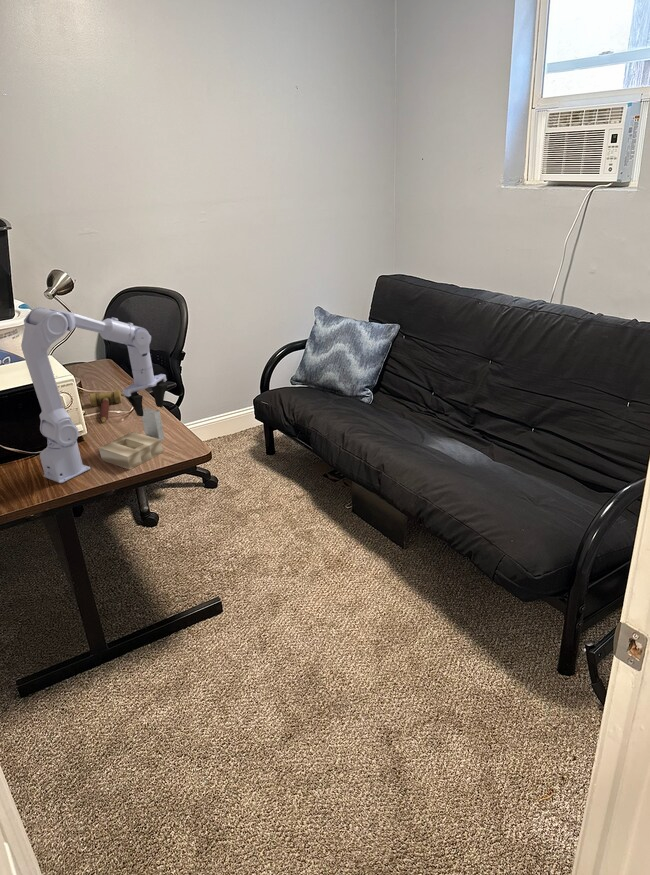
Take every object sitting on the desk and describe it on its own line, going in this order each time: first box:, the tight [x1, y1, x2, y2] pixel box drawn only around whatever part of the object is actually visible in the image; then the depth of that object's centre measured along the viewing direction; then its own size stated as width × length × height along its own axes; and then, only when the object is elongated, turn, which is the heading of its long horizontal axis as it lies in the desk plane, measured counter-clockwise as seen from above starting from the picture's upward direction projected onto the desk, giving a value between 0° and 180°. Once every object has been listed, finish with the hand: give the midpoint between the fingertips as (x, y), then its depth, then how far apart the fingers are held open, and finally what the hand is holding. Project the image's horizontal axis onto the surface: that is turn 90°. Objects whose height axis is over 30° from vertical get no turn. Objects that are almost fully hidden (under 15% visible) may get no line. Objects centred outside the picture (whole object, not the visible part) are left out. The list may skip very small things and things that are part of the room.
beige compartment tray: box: [98, 431, 164, 471], centre depth 172 cm, size 12×12×4 cm
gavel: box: [89, 389, 123, 424], centre depth 205 cm, size 21×5×10 cm
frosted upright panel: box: [141, 407, 165, 441], centre depth 182 cm, size 2×6×9 cm, turn 56°
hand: (150, 411), depth 181 cm, fingers open, 7 cm apart
